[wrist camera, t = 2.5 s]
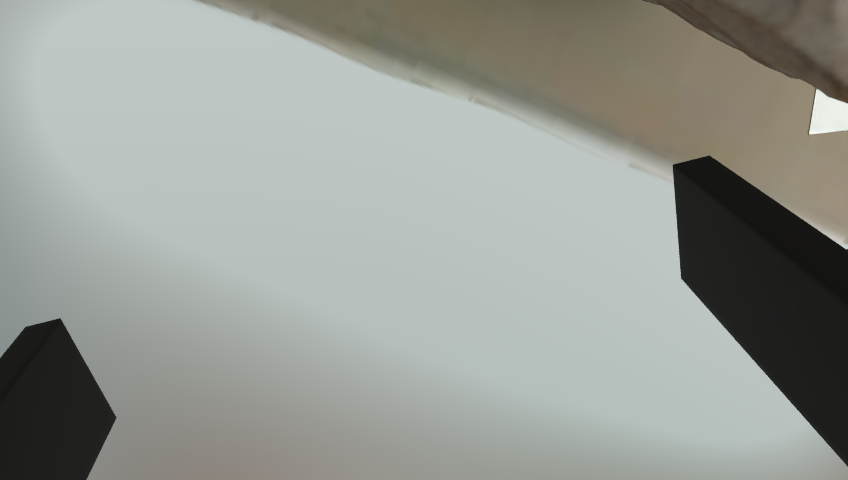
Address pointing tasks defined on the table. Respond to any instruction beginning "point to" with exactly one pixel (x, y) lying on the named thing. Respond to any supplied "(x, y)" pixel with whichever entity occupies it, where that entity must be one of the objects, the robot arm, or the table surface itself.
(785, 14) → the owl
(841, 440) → the robot arm
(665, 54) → the table surface
